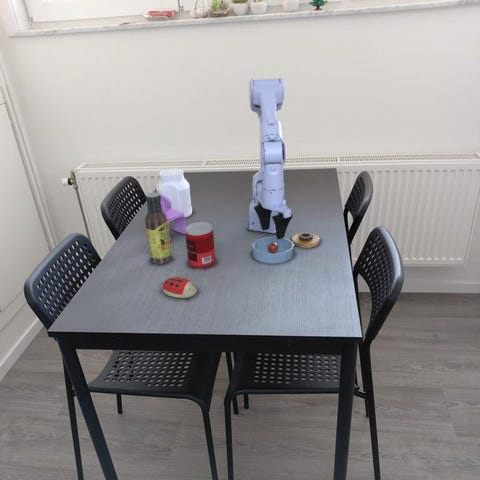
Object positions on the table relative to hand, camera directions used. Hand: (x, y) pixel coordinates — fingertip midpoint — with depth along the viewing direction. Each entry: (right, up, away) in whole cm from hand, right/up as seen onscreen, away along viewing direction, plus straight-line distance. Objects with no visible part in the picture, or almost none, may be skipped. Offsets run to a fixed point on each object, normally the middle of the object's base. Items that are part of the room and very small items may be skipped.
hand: (272, 233), depth 138 cm
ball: (0, -4, +3) cm, 4 cm away
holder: (+11, -1, +10) cm, 15 cm away
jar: (-32, +13, +34) cm, 49 cm away
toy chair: (-32, +2, +18) cm, 37 cm away
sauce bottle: (-33, -7, +4) cm, 34 cm away
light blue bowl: (0, -5, +4) cm, 7 cm away
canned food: (-20, -8, +1) cm, 22 cm away
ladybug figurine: (-25, -18, -12) cm, 33 cm away
